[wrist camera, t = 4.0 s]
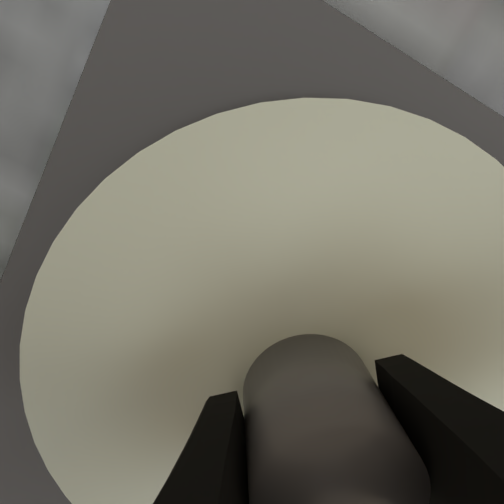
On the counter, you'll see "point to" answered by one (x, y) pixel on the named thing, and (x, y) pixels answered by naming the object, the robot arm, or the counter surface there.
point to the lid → (267, 301)
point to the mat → (188, 112)
